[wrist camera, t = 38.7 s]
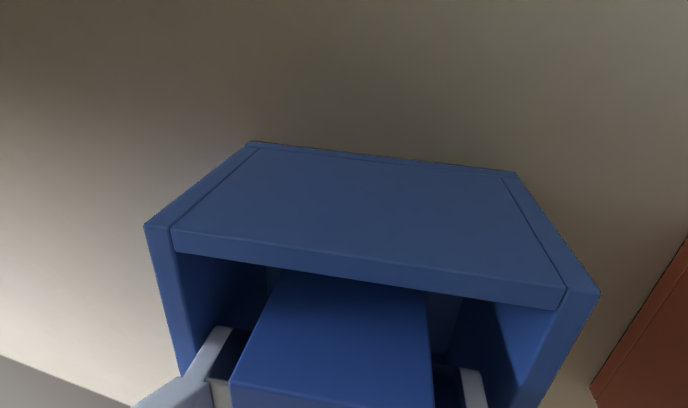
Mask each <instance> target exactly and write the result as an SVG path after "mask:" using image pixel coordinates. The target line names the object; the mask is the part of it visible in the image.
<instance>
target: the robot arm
mask: <svg viewBox="0 0 688 408" xmlns="http://www.w3.org/2000/svg"><path fill="white" fill-rule="evenodd" d="M251 334H252V331H247V330H242V329H237V328H232V327H227V326H221V325H217V326H216V327H215V328H214V329H213V330H212V331H211V333H210V334H209V336H208V337H207V339H206V341H205V342H204V344H203V345H202V347H201V349H200V350H199V352H198V354H197V355H196V357H195V358H194V360H193V362H192V363H191V365H190V366H189V368H188V370H187V371H186V373H185V374H184V376H183V377H176V378H174V379H173V380H171V381H170V382H168V383H167V384H165V385H164V386H162V387H161V388H159V389H158V390H156V391H155V392H153V393H152V394H150V395H148V396H147V397H145V398H144V399H142V400H141V401H139V402H138V403H136V404H135V405H133V406H132V407H130V408H232V404H231V397H230V390H229V379H230V377H231V375H232V373H233V371H234V369H235V367H236V365H237V363H238V361H239V359H240V357H241V355H242V352H243V350H244V348H245V346H246V344H247V342H248V340H249V338H250V336H251ZM432 375H433V388H434V401H435V408H488V404H487V399H486V395H485V390H484V386H483V381H482V377H481V374H480V372H479V371H478V370H473V369H467V368H460V367H457V366H452V365H445V364H439V363H433V362H432Z"/></svg>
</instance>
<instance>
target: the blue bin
mask: <svg viewBox="0 0 688 408" xmlns="http://www.w3.org/2000/svg"><path fill="white" fill-rule="evenodd" d="M143 228H144V232H145V236H146V240H147V244H148V248H149V252H150V256H151V260H152V264H153V268H154V272H155V275H156V279H157V283H158V287H159V291H160V295H161V299H162V303H163V307H164V311H165V315H166V319H167V323H168V327H169V331H170V335H171V339H172V343H173V347H174V351H175V355H176V359H177V363H178V367H179V371H180V375H181V377H183V376H184V374H185V373H186V371H187V370H188V368H189V366H190V365H191V363H192V362H193V360H194V358H195V357H196V355H197V354H198V352H199V350H200V349H201V347H202V345H203V344H204V342H205V341H206V339H207V337H208V336H209V334H210V333H211V331H212V330H213V329H214V328H215V327H216V326H217V325H221V326H227V327H232V328H237V329H242V330H247V331H252V332H253V330H254V328H255V326H256V324H257V322H258V320H259V317H260V315H261V313H262V311H263V309H264V307H265V305H266V303H267V301H268V299H269V297H270V295H271V293H272V291H273V289H274V287H275V285H276V282H277V280H278V278H279V276H280V274H281V272H282V270H283V269H289V270H296V271H302V272H308V273H315V274H321V275H327V276H334V277H340V278H346V279H353V280H359V281H366V282H372V283H378V284H385V285H391V286H397V287H404V288H410V289H416V290H423V291H426V299H427V312H428V324H429V337H430V350H431V362H433V363H439V364H445V365H452V366H457V367H460V368H467V369H473V370H478V371H479V372H480V374H481V377H482V381H483V386H484V390H485V395H486V399H487V404H488V408H538V406H539V405H540V403H541V401H542V399H543V398H544V396H545V394H546V392H547V390H548V389H549V387H550V385H551V383H552V382H553V380H554V378H555V376H556V374H557V373H558V371H559V369H560V367H561V366H562V364H563V362H564V360H565V358H566V357H567V355H568V353H569V351H570V350H571V348H572V346H573V344H574V342H575V341H576V339H577V337H578V335H579V334H580V332H581V330H582V328H583V326H584V325H585V323H586V321H587V319H588V318H589V316H590V314H591V312H592V310H593V309H594V307H595V305H596V303H597V302H598V300H599V298H600V296H601V291H600V290H599V288H598V287H597V286H596V284H595V283H594V282H593V280H592V279H591V277H590V276H589V275H588V273H587V272H586V270H585V269H584V268H583V266H582V265H581V263H580V262H579V261H578V259H577V258H576V256H575V255H574V254H573V252H572V251H571V249H570V248H569V247H568V245H567V244H566V242H565V241H564V240H563V238H562V237H561V236H560V234H559V233H558V231H557V230H556V229H555V227H554V226H553V224H552V223H551V222H550V220H549V219H548V217H547V216H546V215H545V213H544V212H543V210H542V209H541V208H540V206H539V205H538V203H537V202H536V201H535V199H534V198H533V197H532V195H531V194H530V192H529V191H528V190H527V188H526V187H525V185H524V184H523V183H522V181H521V180H520V178H519V177H518V176H517V174H516V173H515V172H510V171H501V170H493V169H484V168H476V167H467V166H459V165H450V164H442V163H433V162H425V161H416V160H408V159H399V158H391V157H382V156H374V155H365V154H357V153H348V152H340V151H331V150H323V149H314V148H306V147H297V146H289V145H280V144H272V143H263V142H255V141H250V142H248V143H247V144H246V145H245V146H244V147H242V148H241V149H239V150H238V151H237V152H236V153H234V154H233V155H232V156H230V157H229V158H228V159H227V160H225V161H224V162H223V163H221V164H220V165H219V166H218V167H216V168H215V169H214V170H212V171H211V172H210V173H209V174H207V175H206V176H205V177H203V178H202V179H201V180H200V181H198V182H197V183H196V184H194V185H193V186H192V187H191V188H189V189H188V190H187V191H185V192H184V193H183V194H182V195H180V196H179V197H178V198H176V199H175V200H174V201H172V202H171V203H170V204H169V205H167V206H166V207H165V208H163V209H162V210H161V211H160V212H158V213H157V214H156V215H154V216H153V217H152V218H151V219H149V220H148V221H147V222H145V223H144V225H143Z"/></svg>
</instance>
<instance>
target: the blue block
mask: <svg viewBox="0 0 688 408" xmlns="http://www.w3.org/2000/svg"><path fill="white" fill-rule="evenodd" d="M229 390H230V397H231V404H232V408H435V401H434V388H433V375H432V362H431V350H430V337H429V324H428V312H427V299H426V291H423V290H416V289H410V288H404V287H397V286H391V285H385V284H378V283H372V282H366V281H359V280H353V279H346V278H340V277H334V276H327V275H321V274H315V273H308V272H302V271H296V270H289V269H283V270H282V272H281V274H280V276H279V278H278V280H277V282H276V285H275V287H274V289H273V291H272V293H271V295H270V297H269V299H268V301H267V303H266V305H265V307H264V309H263V311H262V313H261V315H260V317H259V320H258V322H257V324H256V326H255V328H254V330H253V332H252V334H251V336H250V338H249V340H248V342H247V344H246V346H245V348H244V350H243V352H242V355H241V357H240V359H239V361H238V363H237V365H236V367H235V369H234V371H233V373H232V375H231V377H230V379H229Z"/></svg>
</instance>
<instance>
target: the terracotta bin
mask: <svg viewBox="0 0 688 408" xmlns="http://www.w3.org/2000/svg"><path fill="white" fill-rule="evenodd" d="M590 391H591V393H592V395H593V397H594V399H595V400H596V403H597V405H598V407H599V408H688V237H687V239H686V241H685V242H684V244H683V245H682V247H681V248H680V250H679V251H678V253H677V254H676V256H675V257H674V259H673V260H672V262H671V263H670V265H669V267H668V268H667V270H666V271H665V273H664V274H663V276H662V277H661V279H660V280H659V282H658V283H657V285H656V286H655V288H654V289H653V291H652V293H651V294H650V296H649V297H648V299H647V300H646V302H645V303H644V305H643V306H642V308H641V309H640V311H639V312H638V314H637V316H636V317H635V319H634V320H633V322H632V323H631V325H630V326H629V328H628V329H627V331H626V332H625V334H624V335H623V337H622V338H621V340H620V342H619V343H618V345H617V346H616V348H615V349H614V351H613V352H612V354H611V355H610V357H609V358H608V360H607V361H606V363H605V365H604V366H603V368H602V369H601V371H600V372H599V374H598V375H597V377H596V378H595V380H594V381H593V383H592V384H591V386H590Z"/></svg>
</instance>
